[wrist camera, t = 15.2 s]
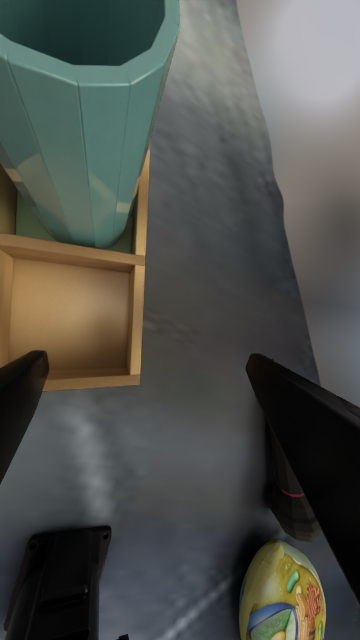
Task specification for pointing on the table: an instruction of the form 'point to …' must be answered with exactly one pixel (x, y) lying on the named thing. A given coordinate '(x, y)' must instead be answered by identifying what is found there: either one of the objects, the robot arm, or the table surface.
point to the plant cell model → (281, 596)
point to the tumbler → (82, 107)
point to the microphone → (290, 500)
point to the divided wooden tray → (72, 296)
